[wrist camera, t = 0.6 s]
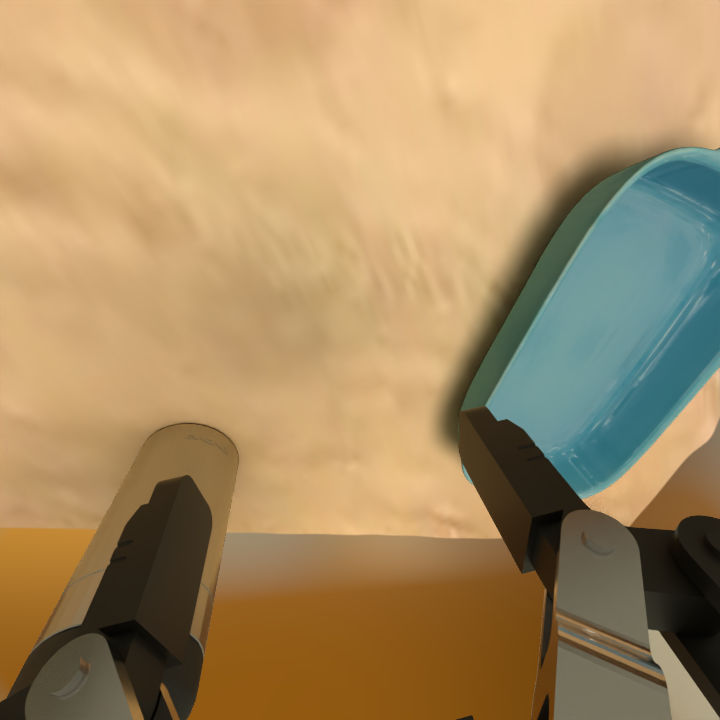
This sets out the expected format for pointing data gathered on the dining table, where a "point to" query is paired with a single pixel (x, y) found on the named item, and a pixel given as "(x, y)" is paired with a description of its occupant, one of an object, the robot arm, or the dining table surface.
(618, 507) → the dining table surface
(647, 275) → the casserole dish
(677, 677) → the cylindrical container
